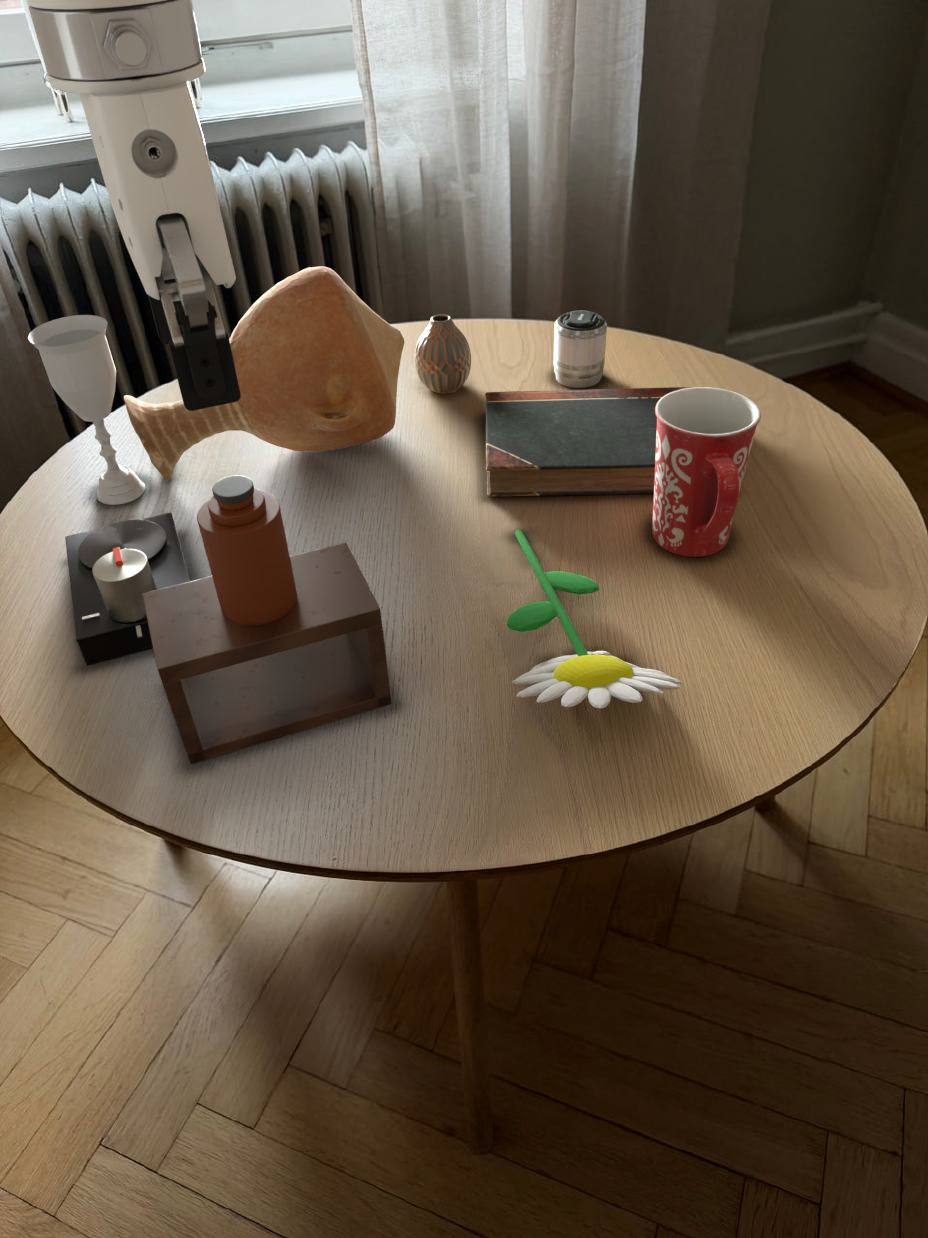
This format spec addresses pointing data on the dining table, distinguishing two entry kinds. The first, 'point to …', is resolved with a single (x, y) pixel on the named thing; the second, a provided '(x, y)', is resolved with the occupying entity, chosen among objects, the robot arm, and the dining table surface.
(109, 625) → the stove
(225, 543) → the bottle
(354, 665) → the shelf
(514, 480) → the book
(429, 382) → the vase
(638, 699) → the decorative flower
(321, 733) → the dining table surface
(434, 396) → the dining table surface
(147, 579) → the stove knob
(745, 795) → the dining table surface
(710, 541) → the mug
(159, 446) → the jug
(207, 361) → the robot arm
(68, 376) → the chalice
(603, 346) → the camera lens
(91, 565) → the burner
